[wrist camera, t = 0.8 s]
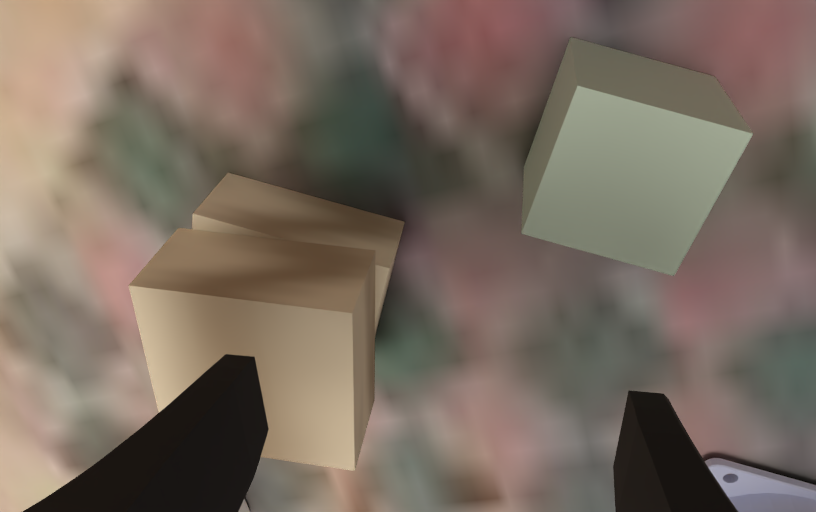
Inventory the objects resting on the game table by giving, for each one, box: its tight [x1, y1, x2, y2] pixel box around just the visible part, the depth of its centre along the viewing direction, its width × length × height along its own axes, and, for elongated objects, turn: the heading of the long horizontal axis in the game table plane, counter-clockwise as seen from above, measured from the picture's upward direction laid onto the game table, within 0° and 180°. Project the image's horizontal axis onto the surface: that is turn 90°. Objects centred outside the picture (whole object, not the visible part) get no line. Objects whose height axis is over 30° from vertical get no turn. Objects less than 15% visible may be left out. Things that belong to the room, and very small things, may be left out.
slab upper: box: [129, 228, 376, 471], centre depth 20 cm, size 6×6×3 cm
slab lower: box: [192, 173, 405, 335], centre depth 23 cm, size 6×6×3 cm
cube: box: [521, 37, 753, 276], centre depth 18 cm, size 4×4×4 cm
